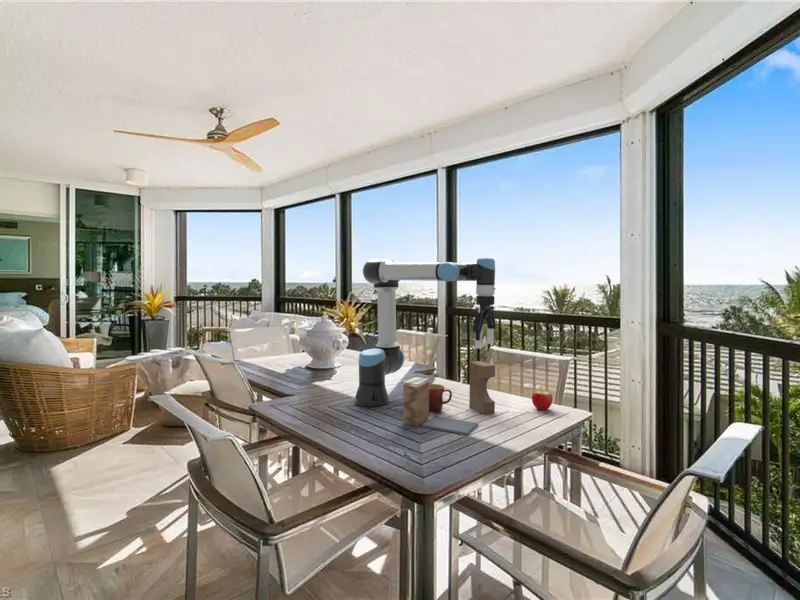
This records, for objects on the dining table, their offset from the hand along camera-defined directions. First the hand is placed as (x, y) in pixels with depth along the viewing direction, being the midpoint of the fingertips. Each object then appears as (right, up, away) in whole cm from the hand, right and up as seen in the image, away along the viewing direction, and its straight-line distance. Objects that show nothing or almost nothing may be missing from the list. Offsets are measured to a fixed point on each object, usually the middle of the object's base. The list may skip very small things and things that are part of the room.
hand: (484, 345), depth 186 cm
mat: (-16, -29, -17) cm, 37 cm away
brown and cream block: (-29, -28, -11) cm, 42 cm away
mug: (-19, -28, +2) cm, 34 cm away
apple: (+25, -28, +4) cm, 38 cm away
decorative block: (-1, -28, +3) cm, 28 cm away
